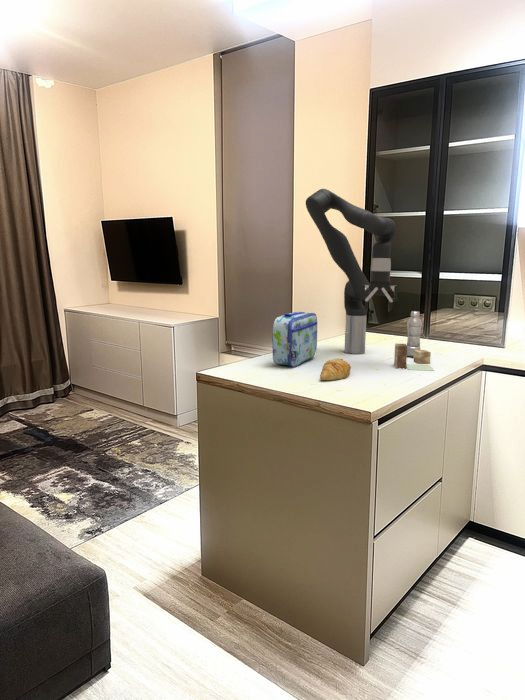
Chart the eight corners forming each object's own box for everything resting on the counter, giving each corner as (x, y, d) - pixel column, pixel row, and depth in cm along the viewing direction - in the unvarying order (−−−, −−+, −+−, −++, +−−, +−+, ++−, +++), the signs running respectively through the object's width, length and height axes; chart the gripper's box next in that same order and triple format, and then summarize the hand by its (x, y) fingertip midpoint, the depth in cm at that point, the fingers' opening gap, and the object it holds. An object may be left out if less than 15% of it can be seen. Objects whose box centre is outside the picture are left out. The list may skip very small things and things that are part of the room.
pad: (407, 369, 204) (408, 369, 204) (404, 364, 214) (404, 363, 214) (434, 370, 203) (434, 370, 203) (429, 365, 212) (429, 364, 212)
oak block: (418, 364, 215) (419, 352, 214) (413, 361, 220) (414, 350, 219) (429, 363, 215) (430, 352, 215) (424, 361, 220) (425, 349, 219)
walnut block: (395, 368, 207) (396, 346, 205) (394, 365, 212) (395, 343, 211) (406, 368, 206) (407, 346, 204) (404, 365, 212) (405, 343, 210)
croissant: (328, 392, 184) (338, 374, 180) (306, 376, 188) (316, 358, 184) (353, 379, 201) (363, 363, 197) (333, 364, 205) (342, 348, 201)
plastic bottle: (421, 356, 231) (424, 311, 227) (419, 358, 225) (421, 312, 221) (406, 354, 234) (409, 310, 230) (403, 357, 228) (406, 311, 224)
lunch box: (292, 369, 203) (293, 316, 199) (268, 366, 208) (269, 314, 204) (319, 358, 225) (321, 310, 221) (297, 355, 231) (298, 308, 227)
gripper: (362, 269, 201) (359, 311, 204) (400, 270, 199) (397, 313, 202) (362, 269, 209) (359, 309, 211) (398, 270, 206) (395, 311, 209)
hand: (378, 311), depth 207 cm, fingers open, 8 cm apart
